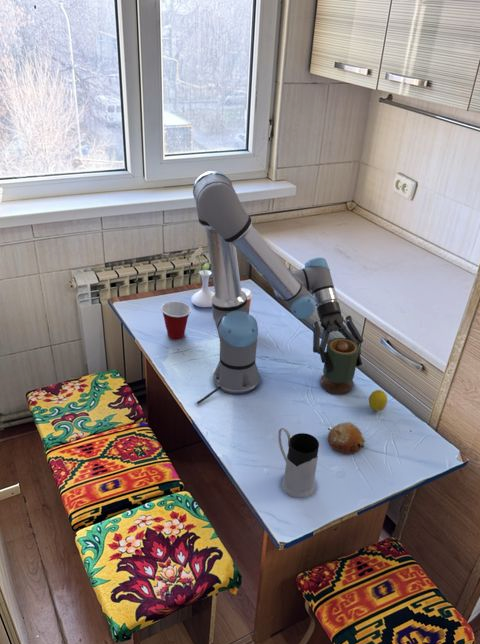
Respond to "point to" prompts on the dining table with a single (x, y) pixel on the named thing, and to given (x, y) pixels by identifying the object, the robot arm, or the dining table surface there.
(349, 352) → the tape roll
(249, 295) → the coffee cup
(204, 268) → the flower in vase
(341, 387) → the peg stand
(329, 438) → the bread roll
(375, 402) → the lemon
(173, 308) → the plastic cup
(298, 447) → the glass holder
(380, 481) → the dining table surface
